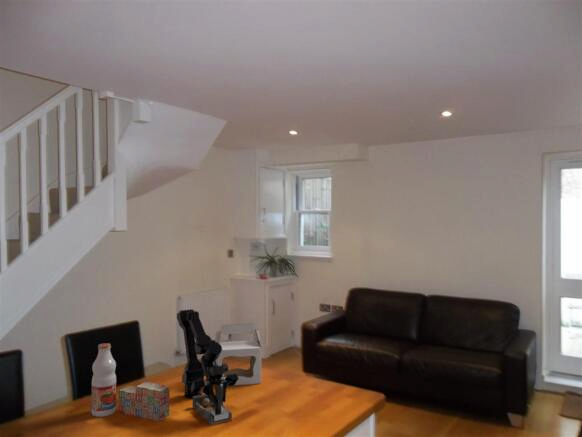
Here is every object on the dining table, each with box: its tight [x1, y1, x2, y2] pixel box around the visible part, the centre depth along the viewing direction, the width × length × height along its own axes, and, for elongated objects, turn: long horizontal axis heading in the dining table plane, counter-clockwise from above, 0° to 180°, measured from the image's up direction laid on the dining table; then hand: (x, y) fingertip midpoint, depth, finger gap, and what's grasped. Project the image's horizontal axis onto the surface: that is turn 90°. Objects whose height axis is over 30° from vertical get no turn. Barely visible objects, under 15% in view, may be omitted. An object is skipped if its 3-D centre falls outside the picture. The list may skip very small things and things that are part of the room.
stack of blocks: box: [118, 381, 171, 422], centre depth 192 cm, size 21×6×12 cm, turn 66°
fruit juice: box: [90, 342, 117, 418], centre depth 193 cm, size 9×9×28 cm
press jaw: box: [210, 383, 229, 421], centre depth 186 cm, size 5×6×13 cm
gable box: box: [214, 323, 262, 386], centre depth 233 cm, size 22×13×28 cm, turn 103°
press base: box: [192, 393, 233, 426], centre depth 192 cm, size 21×9×4 cm, turn 31°
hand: (220, 402), depth 184 cm, fingers closed on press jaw, 3 cm apart
